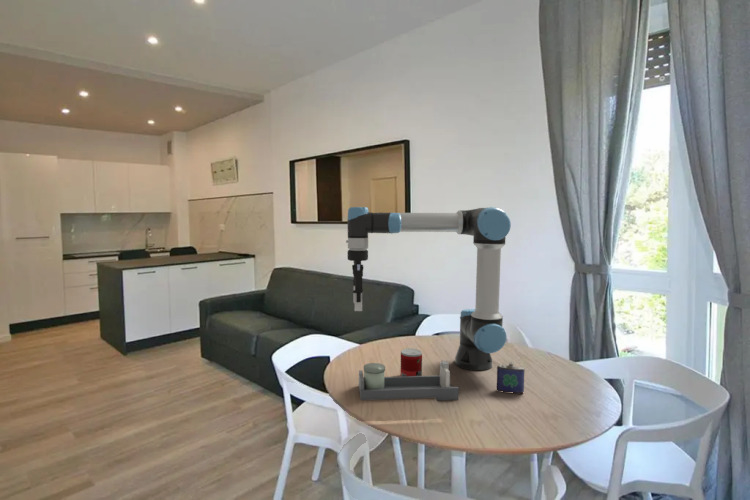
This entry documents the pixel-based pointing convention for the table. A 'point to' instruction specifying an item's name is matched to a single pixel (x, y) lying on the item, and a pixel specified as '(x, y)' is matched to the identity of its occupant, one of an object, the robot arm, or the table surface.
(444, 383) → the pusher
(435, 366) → the table surface
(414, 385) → the lane
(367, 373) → the green jar
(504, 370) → the flask
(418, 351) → the canned food
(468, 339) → the robot arm
